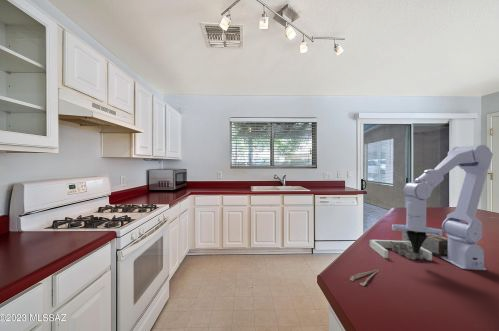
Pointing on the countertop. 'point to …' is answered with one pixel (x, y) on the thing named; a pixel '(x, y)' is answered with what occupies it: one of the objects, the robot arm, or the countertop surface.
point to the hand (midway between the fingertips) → (415, 252)
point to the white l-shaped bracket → (382, 244)
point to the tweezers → (363, 275)
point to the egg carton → (409, 252)
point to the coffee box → (432, 244)
